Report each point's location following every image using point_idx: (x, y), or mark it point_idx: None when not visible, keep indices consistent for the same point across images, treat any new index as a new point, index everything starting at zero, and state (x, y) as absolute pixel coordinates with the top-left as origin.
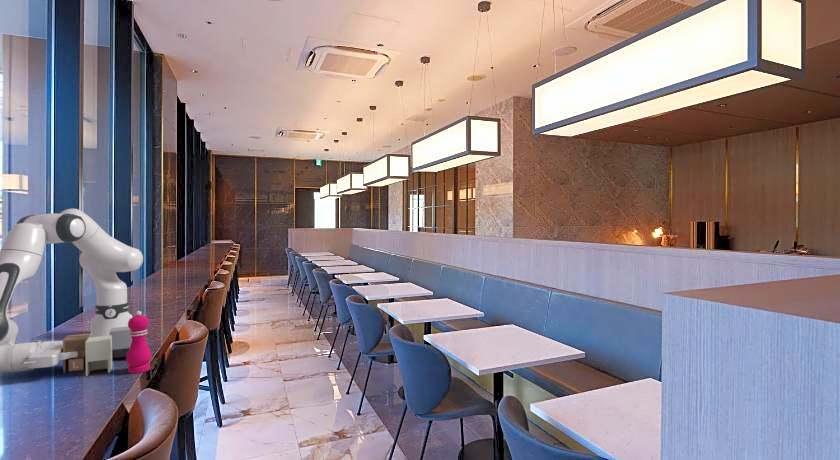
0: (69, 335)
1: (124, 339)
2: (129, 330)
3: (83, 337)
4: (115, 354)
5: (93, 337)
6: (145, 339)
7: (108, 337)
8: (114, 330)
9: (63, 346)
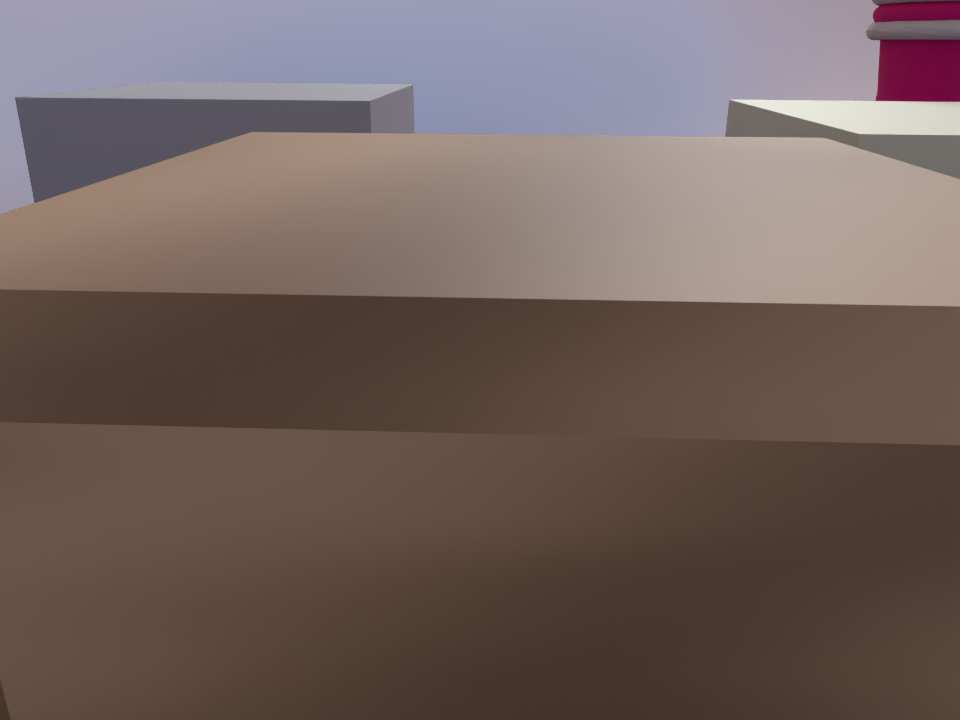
0: (14, 244)
1: None
2: (410, 96)
3: (830, 147)
4: None
5: (865, 124)
6: None
7: (903, 103)
8: (316, 95)
9: None
